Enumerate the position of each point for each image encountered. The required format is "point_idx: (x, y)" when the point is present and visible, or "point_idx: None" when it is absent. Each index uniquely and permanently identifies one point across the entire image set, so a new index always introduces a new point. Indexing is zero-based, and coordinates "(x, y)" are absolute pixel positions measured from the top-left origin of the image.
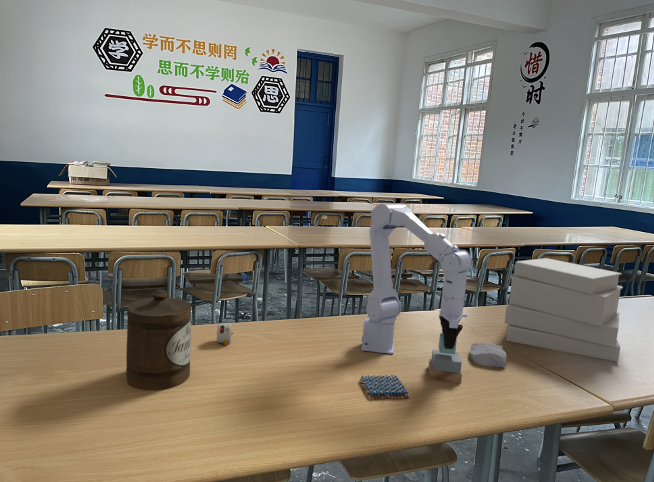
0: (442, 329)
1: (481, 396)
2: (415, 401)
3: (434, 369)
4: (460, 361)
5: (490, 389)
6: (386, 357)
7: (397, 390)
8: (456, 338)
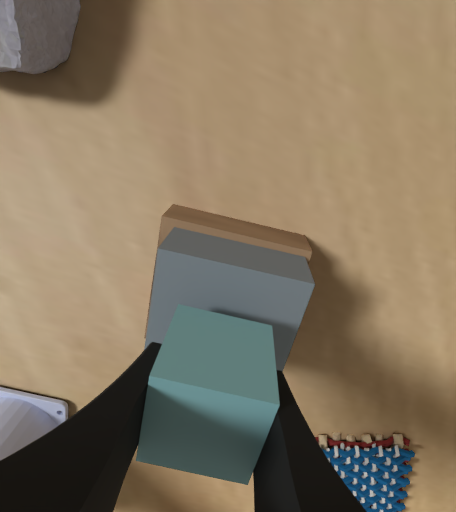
0: (121, 484)
1: (443, 191)
2: (429, 423)
3: None
4: (301, 286)
5: (382, 112)
6: None
7: (387, 471)
8: (317, 443)
